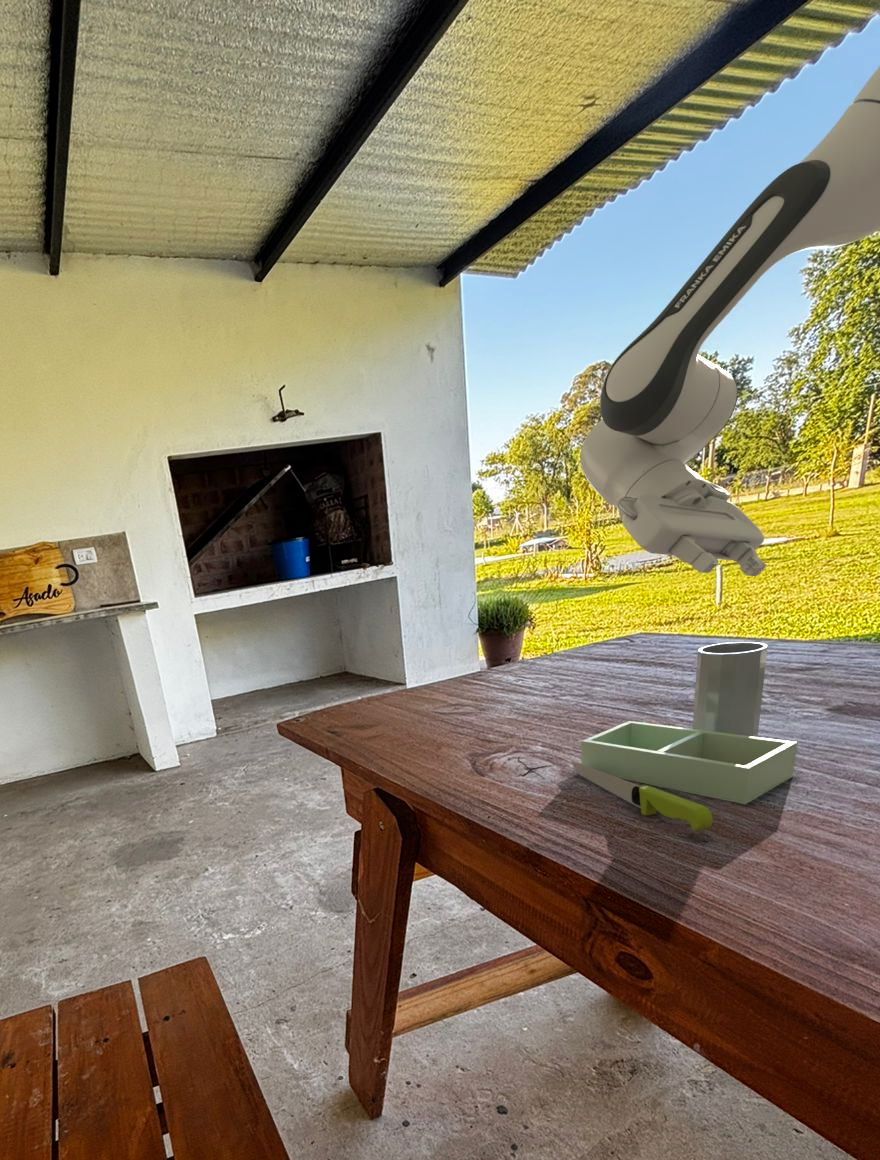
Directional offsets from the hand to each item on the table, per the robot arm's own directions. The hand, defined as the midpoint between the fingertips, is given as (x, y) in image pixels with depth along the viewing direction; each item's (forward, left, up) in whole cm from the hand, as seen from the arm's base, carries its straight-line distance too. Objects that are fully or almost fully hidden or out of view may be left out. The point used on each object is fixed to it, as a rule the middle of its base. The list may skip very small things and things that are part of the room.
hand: (734, 569), depth 75 cm
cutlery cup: (+9, +5, -20) cm, 22 cm away
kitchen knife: (+30, +6, -20) cm, 36 cm away
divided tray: (+20, +6, -20) cm, 28 cm away
